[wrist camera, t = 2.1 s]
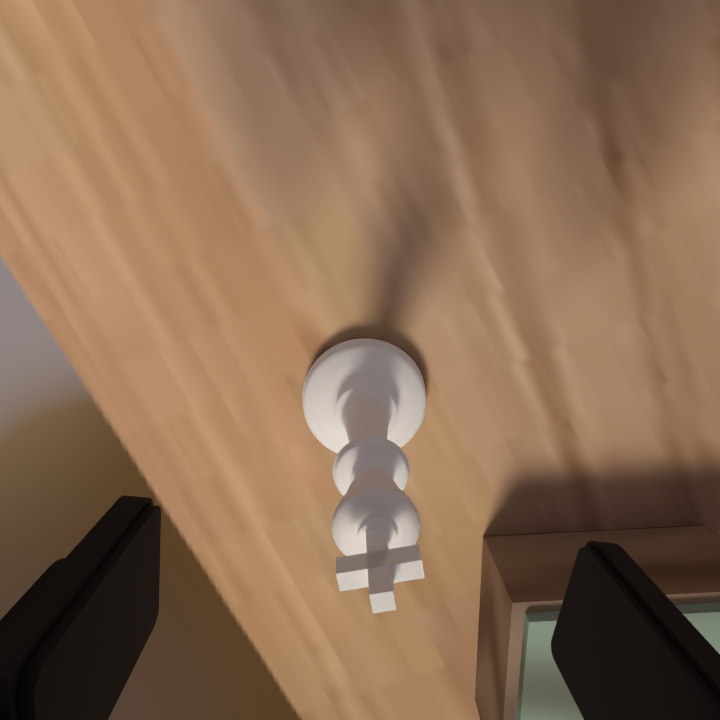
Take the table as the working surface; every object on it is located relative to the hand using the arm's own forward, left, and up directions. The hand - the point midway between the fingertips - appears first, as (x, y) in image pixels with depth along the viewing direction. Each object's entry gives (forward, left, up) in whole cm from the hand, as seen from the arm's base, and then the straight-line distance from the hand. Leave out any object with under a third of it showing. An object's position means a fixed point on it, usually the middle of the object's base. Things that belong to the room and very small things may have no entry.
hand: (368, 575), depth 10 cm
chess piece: (-1, 0, -9) cm, 9 cm away
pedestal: (+9, +12, -8) cm, 17 cm away
